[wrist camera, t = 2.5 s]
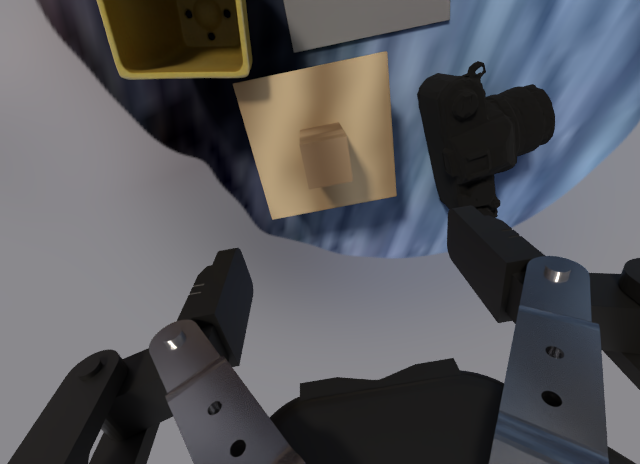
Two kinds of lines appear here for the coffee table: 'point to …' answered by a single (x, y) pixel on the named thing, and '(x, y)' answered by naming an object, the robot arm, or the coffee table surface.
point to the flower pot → (178, 38)
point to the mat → (356, 19)
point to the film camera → (479, 134)
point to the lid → (321, 134)
